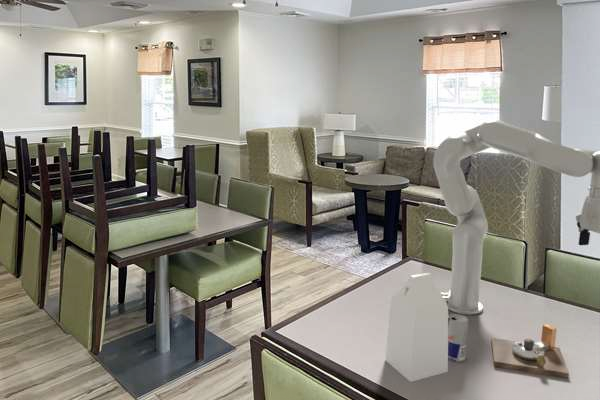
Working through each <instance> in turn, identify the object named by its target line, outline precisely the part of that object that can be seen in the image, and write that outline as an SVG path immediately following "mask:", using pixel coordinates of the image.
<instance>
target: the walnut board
mask: <svg viewBox="0 0 600 400" xmlns="http://www.w3.org/2000/svg"><path fill="white" fill-rule="evenodd" d="M490 341H491V352H492V362H493V367H496V368H500V369H507V370H508V369H509V370H514V371H519V372H525V373H526V372H527V373H532V374H538V375H544V376H550V377H557V378H563V379H569V376H570V373H569V369H568V367H567V365H566V362H565V361H566V360H565V358H564V356H563V354H562V351H561V347H557V346H555V347H554V349H552V350H546V351H544V355H543V354H538V357H537V361H530V360H525V359H522V358H520V357H518V356H516V355H515V354H514V353H513V352H512V346H513V344H514V343H515V342H518V341H516V340H515V341H514V340H511V339H502V338H495V337H491V340H490ZM523 341H524V348H525V349H528V350H533V346H534V343H535V341H534V340H533V339H531V338H525V339H524V340H523Z"/></svg>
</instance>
